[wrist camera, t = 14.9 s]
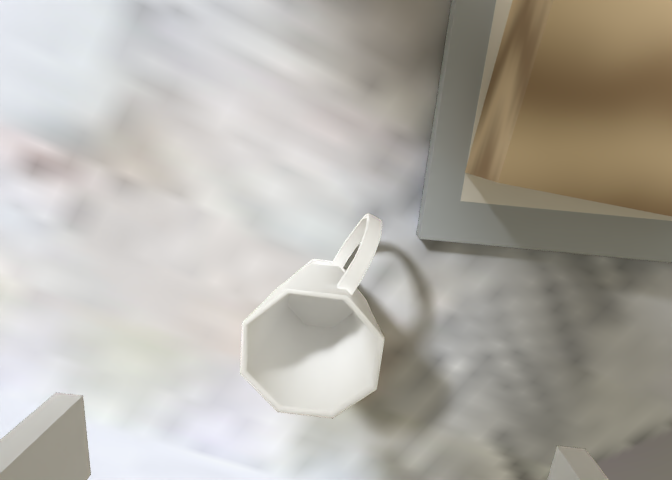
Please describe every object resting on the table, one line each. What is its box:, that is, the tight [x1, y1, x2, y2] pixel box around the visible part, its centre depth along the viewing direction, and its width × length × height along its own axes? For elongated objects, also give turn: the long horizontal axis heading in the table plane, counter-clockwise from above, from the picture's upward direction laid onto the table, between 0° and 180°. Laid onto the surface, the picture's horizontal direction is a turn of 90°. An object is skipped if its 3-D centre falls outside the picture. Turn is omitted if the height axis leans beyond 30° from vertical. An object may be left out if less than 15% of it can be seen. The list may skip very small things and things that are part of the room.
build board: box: [416, 0, 672, 263], centre depth 21 cm, size 18×18×1 cm
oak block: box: [465, 0, 672, 216], centre depth 18 cm, size 11×13×5 cm
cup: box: [240, 213, 385, 418], centre depth 21 cm, size 7×10×8 cm
